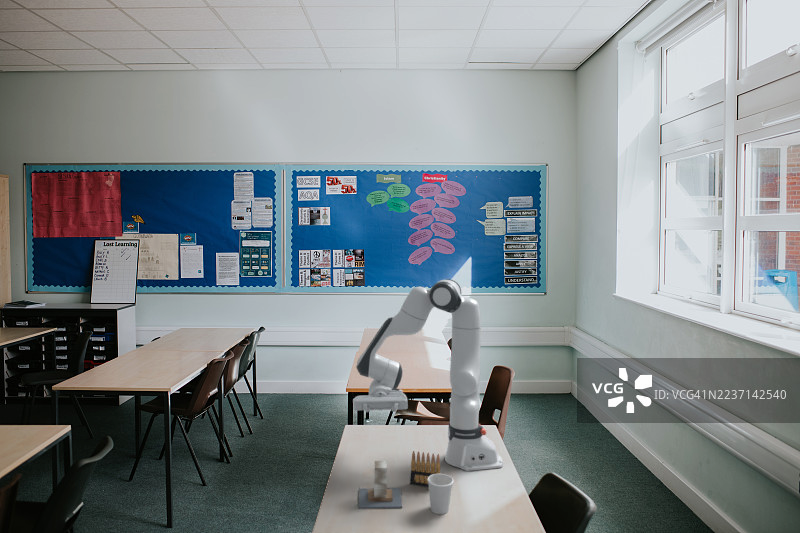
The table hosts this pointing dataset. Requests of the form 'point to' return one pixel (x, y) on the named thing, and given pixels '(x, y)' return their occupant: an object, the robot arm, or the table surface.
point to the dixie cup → (440, 492)
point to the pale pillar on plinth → (380, 484)
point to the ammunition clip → (423, 469)
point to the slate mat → (373, 505)
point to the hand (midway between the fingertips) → (380, 409)
